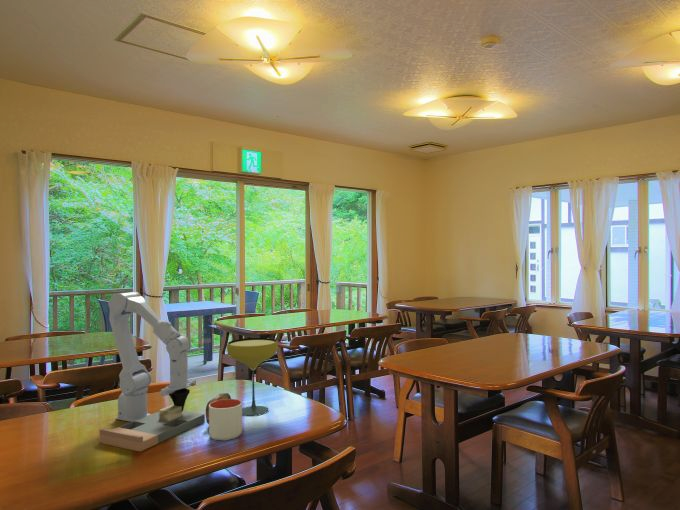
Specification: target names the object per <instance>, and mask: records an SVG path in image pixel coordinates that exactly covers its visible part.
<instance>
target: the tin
mask: <svg viewBox="0 0 680 510" xmlns="http://www.w3.org/2000/svg"><path fill="white" fill-rule="evenodd" d="M223 399H232V397H231V395H230V393H228V392H225V393H218V395H216V396H214V397H212V398H211V399H210V400H209V401H208V402H207V403H206V407H205V422H206V423H207V424H208V425H209V404H210V403H212V402H214V401H217V400H223Z"/></svg>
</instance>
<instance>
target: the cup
mask: <svg viewBox="0 0 680 510" xmlns="http://www.w3.org/2000/svg"><path fill="white" fill-rule="evenodd" d="M242 408H243V402H242V401H241V400H239V399H234V398H231V399H223V400H217V401H214V402H212V403H210V404H209V424H208V433H209V437H210V438H211V439H213V440H216V441H230V439H231V440H234V439H236V438H238V437H240V436H241V434H242V433H243V415H242Z"/></svg>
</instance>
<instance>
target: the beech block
mask: <svg viewBox="0 0 680 510" xmlns="http://www.w3.org/2000/svg"><path fill="white" fill-rule="evenodd" d="M158 410H159V419H162V420H168V421H170V420H173V419H175V418H178V417H180V416H182V407H180V406H174V404H171V405H169V406H166V407H163V408H161V409H158Z"/></svg>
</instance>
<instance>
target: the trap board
mask: <svg viewBox="0 0 680 510" xmlns="http://www.w3.org/2000/svg"><path fill="white" fill-rule="evenodd" d="M150 414H151V415H148V416H146V417H143V418H140V419H138V420H135V421H133V422H128V423H126V424H123V425H120V426H118V427H115V428H112V429H108V428H99V443H100V442H101V443H100V444H104V445H108V446H114V447H118V448H122V449H126V450H127V449H128V450H131V451H136V452H143V451H144V450H147V449H149V448H151V447H153V446H155V445H158V444H160V443H162V442H164V441H166V440H169V439H170V438H172V437H174V436H177V435H179V434H182V433H183V432H185V431H187V430H189V429H192V428H194V427H196V426H198V425H201V424H202V423H204V422H206V413H200V412H193V411H187V410H183V411H182V416H180V417H178V418H175V419H173V420H170V421H168V420H162V419H159V411H156V412H154V413H150Z"/></svg>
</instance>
